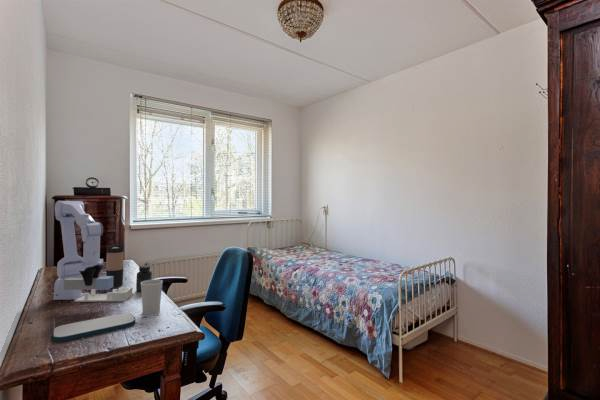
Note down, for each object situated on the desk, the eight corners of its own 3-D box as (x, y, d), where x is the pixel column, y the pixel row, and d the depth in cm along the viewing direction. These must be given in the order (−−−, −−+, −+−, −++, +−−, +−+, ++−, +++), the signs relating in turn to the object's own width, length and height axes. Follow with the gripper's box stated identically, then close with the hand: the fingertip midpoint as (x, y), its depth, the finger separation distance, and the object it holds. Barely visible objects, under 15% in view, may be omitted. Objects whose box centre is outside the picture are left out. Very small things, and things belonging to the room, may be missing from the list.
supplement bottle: (145, 293, 146) (145, 268, 146) (132, 292, 147) (133, 267, 147) (154, 289, 153) (155, 265, 153) (142, 288, 154) (143, 264, 154)
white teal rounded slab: (52, 345, 94) (52, 339, 94) (53, 332, 103) (53, 326, 103) (137, 326, 109) (137, 321, 109) (131, 316, 118) (131, 311, 118)
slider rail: (74, 301, 132) (74, 293, 132) (86, 295, 141) (86, 287, 141) (124, 301, 134) (124, 292, 134) (133, 294, 143) (133, 287, 143)
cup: (140, 316, 117) (140, 285, 117) (140, 309, 124) (140, 280, 124) (162, 313, 121) (163, 283, 121) (161, 307, 128) (162, 278, 128)
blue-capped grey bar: (62, 290, 124) (62, 279, 124) (69, 287, 128) (69, 276, 128) (107, 289, 125) (107, 278, 125) (113, 286, 130) (113, 276, 130)
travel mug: (102, 286, 155) (103, 247, 155) (116, 283, 162) (117, 245, 162) (112, 288, 152) (113, 248, 152) (126, 284, 159) (127, 246, 159)
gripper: (91, 255, 120) (90, 289, 120) (110, 249, 134) (110, 279, 134) (72, 255, 119) (71, 289, 119) (93, 248, 134) (93, 279, 134)
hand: (90, 284), depth 127 cm, fingers closed on blue-capped grey bar, 3 cm apart
